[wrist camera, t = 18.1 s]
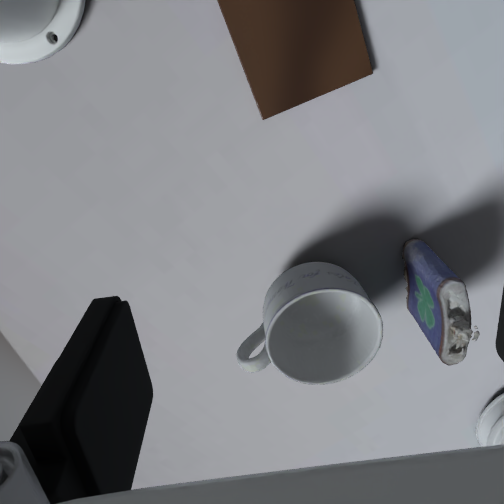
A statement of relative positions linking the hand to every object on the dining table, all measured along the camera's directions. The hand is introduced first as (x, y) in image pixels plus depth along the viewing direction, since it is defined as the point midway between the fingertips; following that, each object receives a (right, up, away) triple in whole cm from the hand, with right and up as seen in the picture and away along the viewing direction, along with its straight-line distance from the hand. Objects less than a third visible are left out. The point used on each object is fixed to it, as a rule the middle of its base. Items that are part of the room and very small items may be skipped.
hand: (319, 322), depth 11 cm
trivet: (+2, +19, +25) cm, 31 cm away
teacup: (+3, -3, +35) cm, 35 cm away
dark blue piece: (+16, -1, +35) cm, 38 cm away
